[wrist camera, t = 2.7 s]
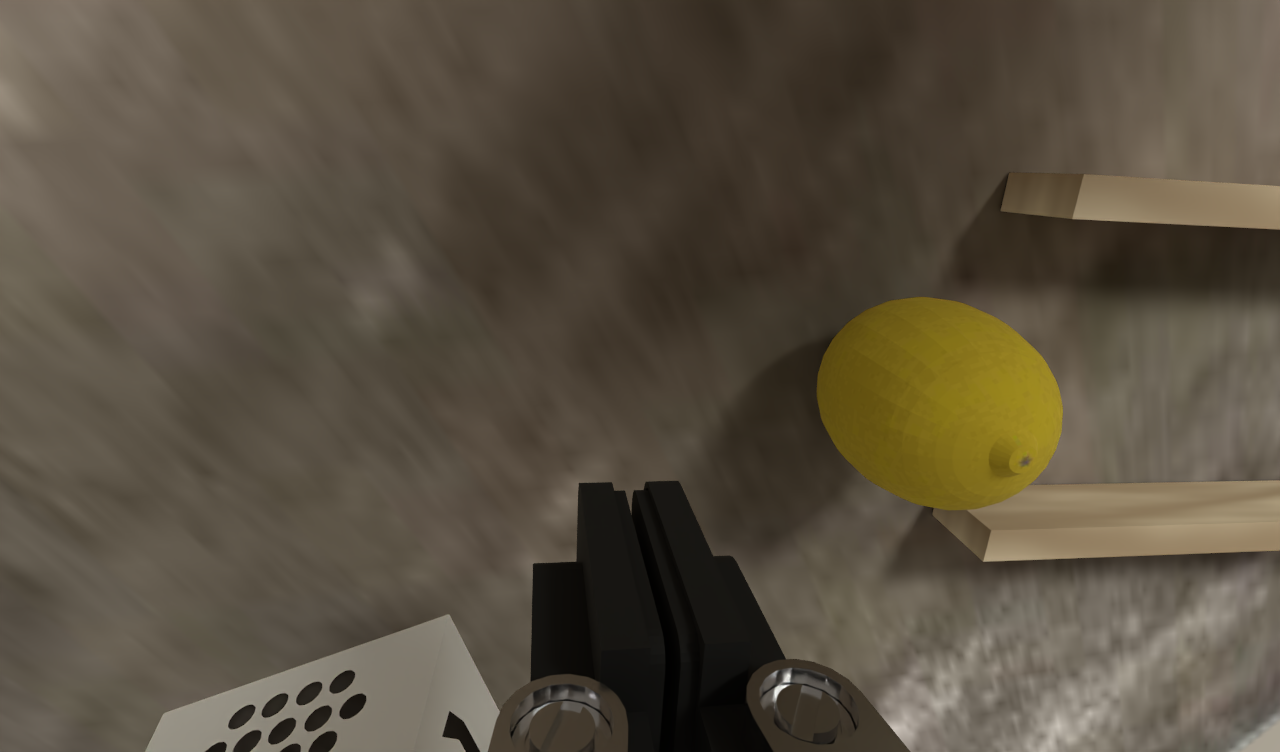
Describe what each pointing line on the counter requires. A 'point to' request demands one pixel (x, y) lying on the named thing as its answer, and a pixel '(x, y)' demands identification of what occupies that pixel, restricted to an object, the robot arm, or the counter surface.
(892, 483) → the lemon
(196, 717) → the grater
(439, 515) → the counter surface
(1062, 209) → the wooden frame
